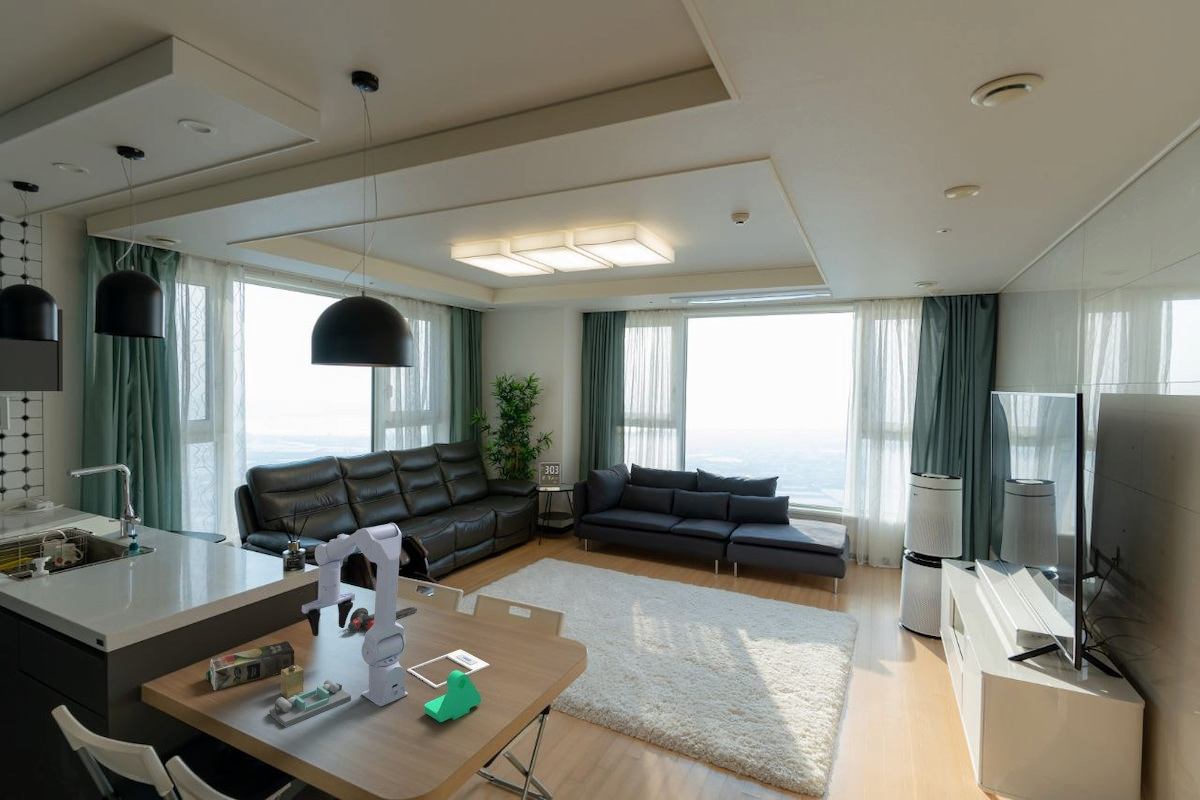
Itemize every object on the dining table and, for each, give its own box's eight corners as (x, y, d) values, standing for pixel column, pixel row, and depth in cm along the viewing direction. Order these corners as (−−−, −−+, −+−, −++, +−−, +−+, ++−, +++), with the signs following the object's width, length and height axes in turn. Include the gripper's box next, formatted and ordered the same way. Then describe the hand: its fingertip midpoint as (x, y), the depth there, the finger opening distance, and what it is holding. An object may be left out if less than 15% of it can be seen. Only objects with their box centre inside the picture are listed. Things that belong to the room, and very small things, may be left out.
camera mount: (462, 696, 150) (463, 657, 150) (480, 706, 145) (481, 666, 145) (422, 715, 140) (423, 673, 140) (440, 727, 135) (441, 683, 135)
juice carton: (209, 693, 149) (210, 669, 149) (205, 679, 156) (205, 657, 157) (294, 671, 162) (295, 650, 162) (286, 659, 170) (287, 639, 170)
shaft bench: (350, 700, 146) (351, 686, 146) (285, 727, 134) (285, 712, 134) (333, 688, 152) (334, 675, 152) (269, 713, 140) (269, 699, 140)
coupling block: (303, 692, 150) (303, 666, 150) (287, 698, 147) (287, 671, 147) (296, 687, 153) (296, 661, 153) (280, 692, 150) (281, 666, 150)
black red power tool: (363, 648, 181) (338, 630, 190) (430, 627, 203) (404, 611, 211) (366, 629, 181) (341, 612, 190) (432, 609, 202) (407, 594, 211)
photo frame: (489, 663, 166) (435, 686, 153) (489, 667, 166) (435, 690, 153) (460, 648, 176) (407, 668, 163) (460, 652, 176) (407, 672, 163)
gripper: (347, 575, 173) (346, 620, 173) (297, 587, 162) (296, 634, 162) (358, 580, 169) (357, 626, 169) (308, 592, 158) (307, 641, 158)
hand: (328, 631), depth 165 cm, fingers open, 7 cm apart
